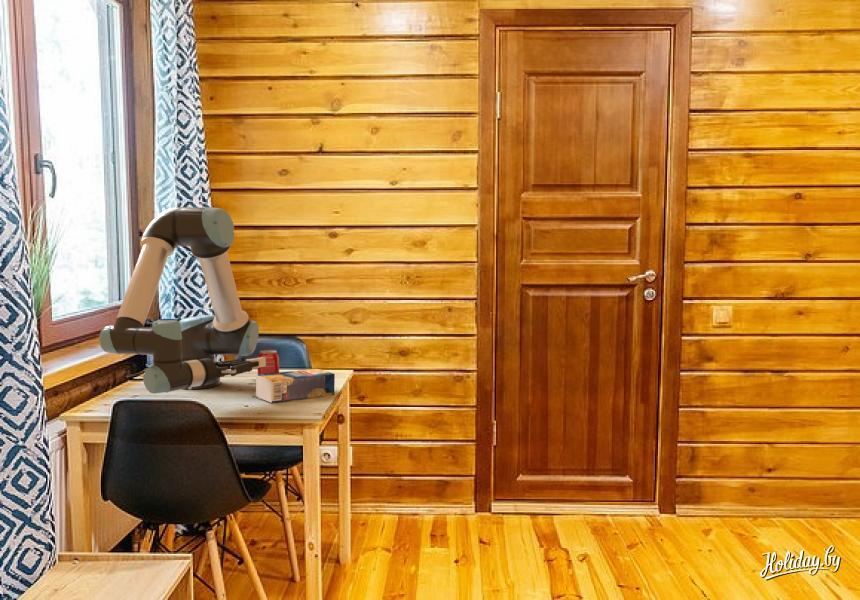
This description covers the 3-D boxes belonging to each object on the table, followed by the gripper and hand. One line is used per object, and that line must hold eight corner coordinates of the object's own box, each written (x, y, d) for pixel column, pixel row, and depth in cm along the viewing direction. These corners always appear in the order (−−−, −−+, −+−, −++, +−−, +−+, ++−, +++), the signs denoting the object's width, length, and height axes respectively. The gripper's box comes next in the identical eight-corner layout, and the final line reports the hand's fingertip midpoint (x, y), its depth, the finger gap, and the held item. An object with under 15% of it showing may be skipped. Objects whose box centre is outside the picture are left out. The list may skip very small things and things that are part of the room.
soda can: (270, 383, 255) (270, 348, 254) (283, 386, 250) (283, 351, 249) (253, 386, 249) (253, 351, 248) (266, 389, 245) (266, 353, 244)
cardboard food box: (255, 396, 234) (317, 388, 248) (271, 403, 225) (334, 395, 239) (256, 374, 233) (317, 368, 247) (271, 380, 225) (334, 373, 238)
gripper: (185, 382, 215) (250, 370, 234) (212, 389, 207) (278, 376, 226) (184, 356, 215) (250, 347, 233) (212, 362, 207) (278, 352, 225)
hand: (264, 361), depth 230 cm, fingers closed
